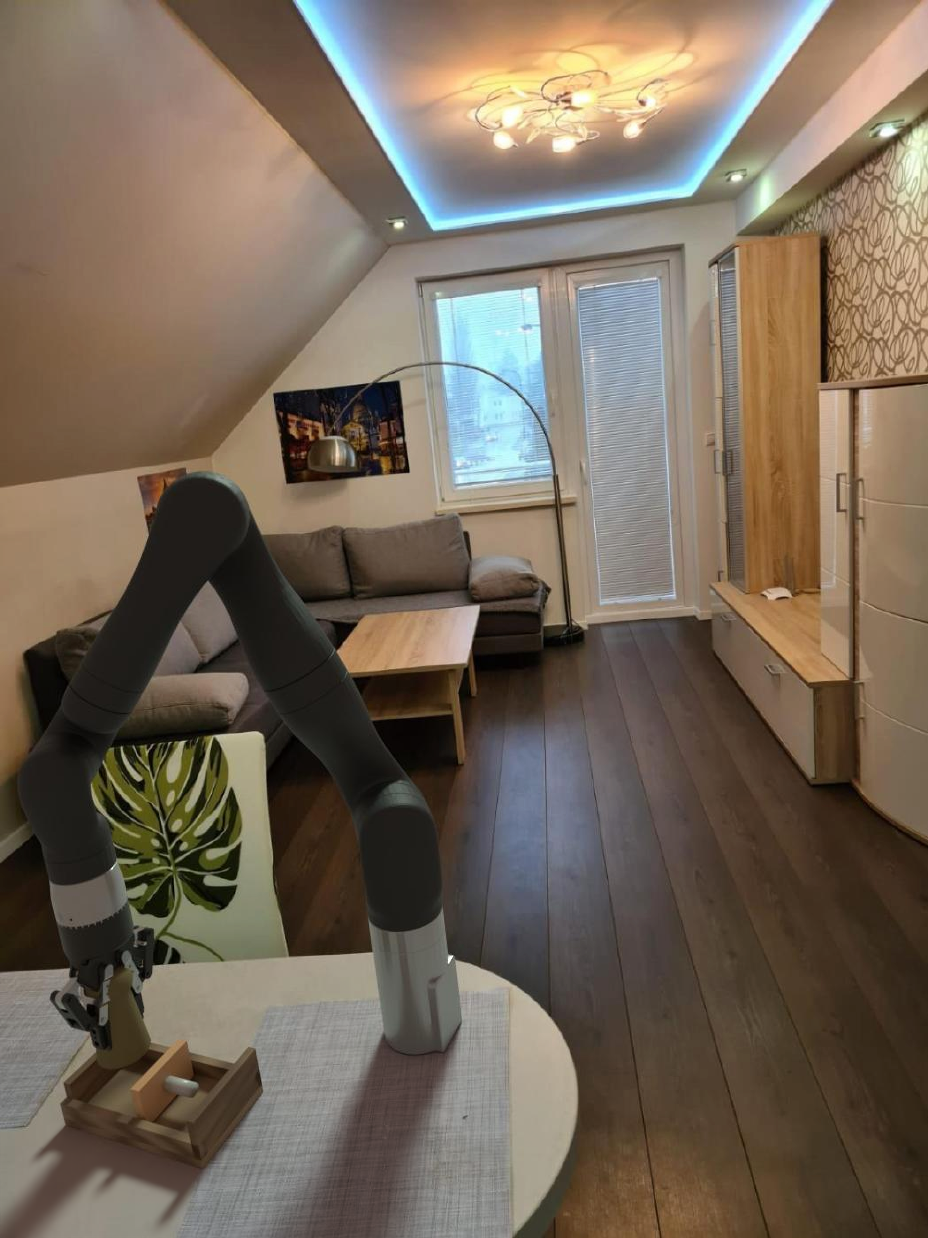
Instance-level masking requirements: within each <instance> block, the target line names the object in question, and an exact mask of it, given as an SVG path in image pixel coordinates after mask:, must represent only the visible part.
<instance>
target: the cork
mask: <svg viewBox="0 0 928 1238" xmlns="http://www.w3.org/2000/svg"><path fill="white" fill-rule="evenodd" d="M132 982H133V974H132V971H131V970H130V969H128V968H124V967H121V966H120V967H118V968H117V969H115V970H114V971H113V977H112V979H111V981H110V984H109V986H108V993H107V994H108V996H109V999H110V1002H109V1003H108V1020H109V1021H110V1029H111V1040H112V1049H111V1050H110V1051H107V1049H105V1050H102V1049H98V1048H95V1052H96V1056H97V1062H98V1064H99V1065H100V1066H101V1067H102V1068H106V1069H118V1068H122V1067H125V1066H128V1065H130V1064H132V1063H134V1062H135V1061H137V1060H138V1059H140V1058H141V1057H142V1056H143V1055H144V1054H145V1053H146V1052H147V1051H148V1049H149V1047H150V1045H151V1043H152V1039H151V1036H150V1034H149V1032H148V1029H147V1027H146V1023H145V1021H144V1019H142V1016H141V1014H140V1011H139V1009H138V1006H137V1004H136V1001H135V999H134V996H133V994H132V991H131V989H130V988H131V986H132ZM106 987H107V986H106ZM85 992H86V994H87V996H89V997H93V998H99V996H100V990H99V991H98V992H94V991H90V990H87V989H85ZM107 994H106V995H107ZM95 1012H96V1006H95Z"/></svg>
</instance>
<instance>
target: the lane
mask: <svg viewBox="0 0 928 1238" xmlns="http://www.w3.org/2000/svg"><path fill="white" fill-rule="evenodd" d="M170 1047H171V1046H167V1045H162V1044H158V1043H155V1042H151V1045H150V1047H149V1049H148V1051H147V1052H146V1053H145V1054H144V1055H143V1056H142V1057H141V1058H140V1059H138V1060H137V1061H135V1062H134V1063H132V1064H130V1065H128V1066H125V1067H122V1068H118V1069H106V1068H102V1067H101V1066H100V1065H99V1064H98V1062H97V1056H96V1051H95V1052H94V1053H93V1054H92V1055H91V1056H90V1057H88V1059H87V1060H86V1061H84V1063H83V1064H82V1065H80V1067H78V1068H77V1069H76V1070H75V1071H74V1072H72V1074H70V1076H68V1078H66V1079H65V1080H64V1081H63V1087H64V1091H65V1096H66V1097H65V1098H64V1099H63V1100H62V1101H61V1102H60V1103H59V1105H60V1109H61V1113H62V1116H63V1121H64V1124H65V1126H68V1127H71V1128H73V1129H77V1130H80V1131H84V1132H87V1133H89V1134H93V1135H96V1136H99V1137H102V1138H105V1139H108V1140H112V1141H115V1142H119V1143H121V1144H124V1145H127V1146H131V1147H134V1148H137V1149H140V1150H143V1151H145V1152H149V1153H151V1154H152V1153H153V1154H155V1155H158V1156H162V1157H165V1158H168V1159H172V1160H175V1161H178V1162H180V1163H184V1164H187V1165H190V1166H194V1167H197V1168H199V1169H204V1168H205V1167H206V1166H207V1165H208V1163H209V1162H210V1161H211V1159H212V1158H213V1157H214V1156H215V1154H216V1153H217V1152H218V1151H219V1150H220V1148H221V1147H222V1145H223V1144H224V1142H225V1141H226V1140H227V1138H228V1137H229V1136H230V1134H232V1132H233V1131H234V1130H235V1128H236V1127H237V1126H238V1124H239V1123H240V1122H241V1121H242V1119H244V1117H245V1116H246V1114H247V1113H248V1112H249V1110H250V1109H251V1107H252V1106H253V1105H254V1103H255V1102H256V1101H257V1100H258V1098H259V1097H260V1095H262V1093H264V1087H263V1083H262V1081H263V1080H262V1076H261V1072H260V1067H259V1060H258V1055H257V1050H256V1048H255V1047H251V1046H247V1048H246V1049H245V1050H244V1051H243V1052H242V1053H241V1055H240V1056H239V1057H238V1058H237V1060H236V1061H235V1062H231V1061H230V1062H229V1061H225V1060H222V1059H218V1058H214V1057H210V1056H206V1055H202V1054H198V1053H193V1052H192V1051H189V1054H190V1058H191V1063H192V1068H193V1073H194V1076H193V1077H192V1078H191V1080H190V1081H193V1082H196V1083H198V1092H197V1094H196V1095H195V1097H193V1098H189V1097H185V1096H182V1095H178V1094H177V1095H176V1096H175V1098H174V1099H173V1100H172V1101H171V1102H170V1103H169V1104H168V1105H167V1107H166V1108H165V1109H164V1110H163V1111H162V1112H161V1113H160V1114H159V1116H158V1117H157V1118H156V1119H155V1120H154V1121H153V1122H148V1121H145V1120H142V1119H138V1118H137V1115H136V1111H135V1107H134V1102H133V1098H132V1094H131V1088H132V1087H133V1086H134V1085H135V1084H136V1083H137V1082H138V1081H139V1080H140V1079H141V1077H142V1076H143V1075H144V1074H145V1073H146V1072H147V1071H148V1070H149V1069H150V1068H151V1067H152V1066H153V1065H154V1064H155V1063H156V1062H157V1061H158V1060H159V1059H160V1058H161V1057H162V1056H163V1055H164V1054H165V1053H166V1051H167V1050H168V1049H169V1048H170Z"/></svg>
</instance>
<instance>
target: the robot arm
mask: <svg viewBox="0 0 928 1238" xmlns="http://www.w3.org/2000/svg"><path fill="white" fill-rule="evenodd" d="M152 521H153V522H152V525H151V527H150V530H149V533H148V536H147V538H146V542H145V544H144V547H143V550H142V553H141V555H140V558H139V561H138V562H137V565H136V566H135V567H136V568H135V570H134V572H133V574H132V576H131V578H130V580H129V582H128V584H127V585H126V588H125V590H124V592H123V593H122V595H121V597H120V599H119V600H118V601H117V604H116V605H115V607H114V608H113V610H112V612H111V613H110V615H109V616H108V618H107V620H106V621H105V622H104V624H103V625H102V627H101V629H100V630H99V632H98V633H97V635H96V637H94V640H93V641H92V643H91V644H90V647H89V648H88V649H87V651H86V653H85V655H84V656H83V658H82V660H81V662H80V663H79V666H77V669H76V671H75V672H74V674H73V676H72V678H71V679H70V682H69V683H68V685H67V686H66V689H65V691H64V693H63V696H62V699H61V703H60V707H59V708H58V710H57V711H56V712H55V715H54V716H53V717H52V719H51V721H50V723H49V724H48V727H47V728H46V729H45V731H44V733H43V734H42V735H41V737H40V738H39V740H38V742H37V743H36V744H35V746H34V747H33V749H31V751H30V752H29V753H28V755H27V756H26V758H25V759H24V761H22V763H21V764H20V768H19V770H18V774H17V782H16V783H17V793H18V798H19V803H20V805H21V808H22V810H23V813H24V814H25V816H26V819H27V821H28V823H29V825H30V827H31V830H32V831H33V833H34V835H35V836H36V838H37V840H38V841H39V843H40V845H41V850H42V855H43V860H44V864H45V868H46V871H47V872H46V873H47V876H48V880H49V888H50V889H49V891H50V900H51V905H52V909H53V912H54V917H55V920H56V926H57V929H58V933H59V934H58V935H59V938H60V941H61V946H62V949H63V953H64V954H65V956H66V957H67V959H68V961H69V964H70V965H69V971H68V978H69V980H68V981H67V982H66V984H65V985H64V986H63V987H62V988H61V990H58V989H55V990H53V991H52V992H51V993H50V996H49V1001H50V1003H51V1004H52V1005H53V1006H54V1007H55V1009H56V1010H57V1011H58V1012H59V1014H60V1015H61V1017H62V1018H63V1020H64V1021H65V1022H66V1023H67V1024H68V1025H69V1027H70V1028H72V1029H75V1030H79V1031H82V1032H86V1033H89V1035H90V1036H89V1037H90V1040H91V1044H92V1046H93V1047H94V1048H95V1049H96V1048H98V1049H102V1050H105V1049H107V1051H110V1050H111V1049H112V1040H111V1029H110V1021H109V1020H108V1003H109V1002H110V999H109V996H108V994H107V993H108V986H109V984H110V981H111V979H112V977H113V971H114V970H115V969H117V968H118V967H120V966H121V967H124V968H128V969H130V970H131V971H132V974H133V982H132V986H131V988H130V989H131V991H132V994H133V996H134V999H135V1001H136V1004H137V1006H138V1009H139V1011H140V1014H141V1016H142V1019H143V1020H144V1019H145V1016H144V1013H145V1004H144V1000H143V995H142V990H143V988H144V982H145V980H149V979H151V977H152V975H153V967H154V950H155V949H154V944H155V929H154V928H152V927H148V926H143V925H135V924H134V920H133V915H132V912H131V906H130V902H129V897H128V892H127V889H126V884H125V878H124V875H123V872H122V870H121V867H120V865H119V862H118V858H117V854H116V849H115V844H114V840H113V834H112V831H111V827H110V825H109V823H108V820H107V818H106V817H105V816H104V815H103V814H101V813H100V812H98V811H97V809H96V806H95V803H94V802H95V801H94V799H93V798H94V797H93V792H92V783H93V781H94V779H95V778H96V776H97V774H98V772H99V769H100V768H101V766H102V764H103V761H104V760H105V758H106V756H107V753H108V752H109V751H110V748H111V747H112V744H113V742H114V740H115V739H116V736H117V734H118V732H119V730H120V729H121V728H122V727H123V726H124V725H125V723H126V722H127V720H129V717H131V714H132V713H133V711H134V710H135V708H136V707H137V704H138V703H139V702H140V699H141V697H142V695H144V692H145V691H146V689H147V687H148V686H149V683H150V682H151V680H152V678H153V676H154V675H155V672H156V670H157V668H158V667H159V665H160V662H161V660H162V659H163V656H164V654H165V652H166V650H167V648H168V646H169V644H170V642H171V639H172V638H173V635H174V634H175V631H176V629H177V627H178V626H179V624H180V622H181V620H182V619H183V617H184V615H185V614H186V612H187V610H188V609H189V607H190V606H191V604H193V601H194V600H195V598H196V597H197V596H198V594H199V593H200V591H201V590H202V588H203V587H204V586H205V585H206V584H207V582H208V583H209V584H210V585H211V587H212V588H213V590H214V591H215V593H216V594H217V595H218V597H219V599H220V601H221V602H222V604H223V606H224V607H225V610H226V612H227V615H228V616H229V619H230V622H231V623H232V627H233V628H234V631H235V634H236V636H237V639H238V642H239V643H240V647H241V648H242V651H243V653H244V655H245V658H246V659H247V662H248V664H249V667H250V669H251V671H252V673H253V675H254V677H255V678H256V681H257V682H258V684H259V686H260V687H261V690H263V692H264V694H265V696H266V698H268V700H269V702H270V703H271V705H272V706H273V708H274V710H275V711H276V713H277V714H278V716H279V717H280V719H281V720H282V722H283V723H284V724H285V726H286V727H288V729H289V730H290V731H291V732H292V734H293V735H294V736H295V737H296V738H297V739H298V740H299V741H300V742H301V743H302V744H303V745H304V746H305V747H306V748H307V749H309V750H310V751H311V752H312V754H313V755H315V756H316V757H317V758H318V760H320V761H321V762H322V764H323V765H324V767H325V768H326V769H327V771H328V772H329V774H330V776H331V778H332V779H333V781H334V783H335V784H336V786H337V789H338V790H339V792H340V794H341V796H342V798H343V800H344V802H345V804H346V807H347V809H348V811H349V813H350V817H351V819H352V822H353V826H354V831H355V835H356V838H357V843H358V849H359V857H360V864H361V870H362V876H363V885H364V890H365V891H364V893H365V906H366V912H367V919H368V925H369V933H370V942H371V949H372V953H373V954H372V956H373V961H374V962H373V963H374V968H375V969H374V970H375V977H376V983H377V991H378V997H379V1004H380V1011H381V1017H382V1018H381V1020H382V1025H383V1032H384V1033H383V1034H384V1038H385V1041H386V1043H387V1044H388V1045H389V1046H390V1048H392V1049H394V1050H395V1051H396V1052H400V1054H401V1053H402V1054H406V1055H416V1056H417V1055H422V1054H427V1053H431V1052H441V1053H444V1052H445V1051H446V1049H447V1048H448V1045H449V1044H450V1043H451V1040H452V1038H453V1036H454V1035H455V1033H456V1031H457V1029H458V1028H459V1026H460V1023H461V1022H462V1020H463V1016H462V1006H461V997H460V996H461V995H460V988H459V980H458V971H457V963H456V956H454V954H449V951H448V944H447V934H446V925H445V917H444V909H443V899H442V898H443V897H442V894H443V889H444V887H443V886H444V884H443V875H442V873H443V872H442V860H441V851H440V844H439V841H440V840H439V834H438V830H437V829H438V828H437V825H436V822H435V819H434V817H433V814H432V812H431V809H430V808H429V805H428V803H427V801H426V798H425V797H424V795H423V793H422V791H421V790H420V789H419V788H418V787H417V786H416V784H415V783H414V781H412V779H411V778H410V777H409V775H408V774H407V773H406V771H404V769H403V768H402V767H401V765H400V764H399V762H397V760H396V759H395V757H394V756H393V755H392V753H391V752H390V751H389V749H388V748H387V746H386V745H385V743H384V742H383V740H382V739H381V737H380V735H379V734H378V731H377V730H376V728H375V726H374V724H373V720H372V719H371V715H370V713H369V711H368V708H367V706H366V704H365V702H364V699H363V698H362V695H361V693H360V691H359V689H358V688H357V685H356V683H355V681H354V679H353V678H352V675H351V674H350V672H349V670H348V669H347V667H346V665H345V663H344V662H343V660H342V658H341V657H340V655H339V653H338V652H337V650H336V648H335V647H334V645H333V643H332V642H331V640H330V639H329V638H328V635H326V633H325V631H324V630H323V628H322V626H321V625H320V624H319V623H318V620H316V618H315V616H314V615H313V614H312V613H311V611H310V609H309V608H308V607H307V605H306V603H304V601H303V600H302V599H301V597H300V596H299V595H298V593H297V592H296V591H295V589H294V588H293V587H292V586H291V584H290V583H289V581H288V580H287V579H286V577H285V576H284V575H283V572H282V571H281V570H280V568H279V566H278V564H277V563H276V560H275V559H274V557H273V555H272V553H271V551H270V549H269V546H268V545H267V542H266V541H265V539H264V537H263V534H262V533H261V531H260V528H259V526H258V524H257V521H256V520H255V518H254V514H253V512H252V510H251V507H250V505H249V502H248V500H247V497H246V496H245V494H244V492H243V491H242V490H241V487H240V486H238V484H237V483H235V482H234V481H233V480H232V479H230V478H228V477H227V476H225V475H223V474H220V473H218V472H214V471H210V470H209V471H208V470H198V471H193V472H189V473H187V474H185V475H182V476H180V477H179V478H177V479H175V480H173V481H172V482H171V483H170V484H169V485H168V486H167V487H165V489H164V490H163V491H162V493H161V495H160V497H159V499H158V501H157V503H156V510H155V515H154V517H153V520H152ZM141 960H142V966H141ZM106 986H107V987H106ZM85 989H87V990H90V991H94V992H98V991H99V990H100V996H99V998H93V997H89V996H87V994H86V992H85ZM79 991H80V993H79ZM106 994H107V995H106ZM95 1006H96V1012H95Z"/></svg>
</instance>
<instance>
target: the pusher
mask: <svg viewBox="0 0 928 1238" xmlns="http://www.w3.org/2000/svg"><path fill="white" fill-rule="evenodd" d="M169 1047H170V1048H169V1049H168V1050H167V1051H166V1053H165V1054H164V1055H163V1056H162V1057H161V1058H160V1059H159V1060H158V1061H157V1062H156V1063H155V1064H154V1065H153V1066H152V1067H151V1068H150V1069H149V1070H148V1071H147V1072H146V1073H145V1074H144V1075H143V1076H142V1077H141V1079H140V1080H139V1081H138V1082H137V1083H136V1084H135V1085H134V1086H133V1087H132V1088H131V1094H132V1098H133V1102H134V1107H135V1111H136V1115H137V1118H138V1119H142V1120H145V1121H148V1122H153V1121H154V1120H155V1119H156V1118H157V1117H158V1116H159V1114H160V1113H161V1112H162V1111H163V1110H164V1109H165V1108H166V1107H167V1105H168V1104H169V1103H170V1102H171V1101H172V1100H173V1099H174V1098H175V1096H176V1095H177V1094H178V1095H182V1096H185V1097H189V1098H193V1097H195V1095H196V1094H197V1092H198V1083H196V1082H193V1081H190V1080H191V1078H192V1077H193V1076H194V1073H193V1068H192V1063H191V1058H190V1054H189V1052H190V1049H189V1044H188V1040H186V1039H181V1038H178V1039H177V1040H176V1041H175V1042H174V1043H173V1044H172V1045H171V1046H169Z"/></svg>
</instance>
